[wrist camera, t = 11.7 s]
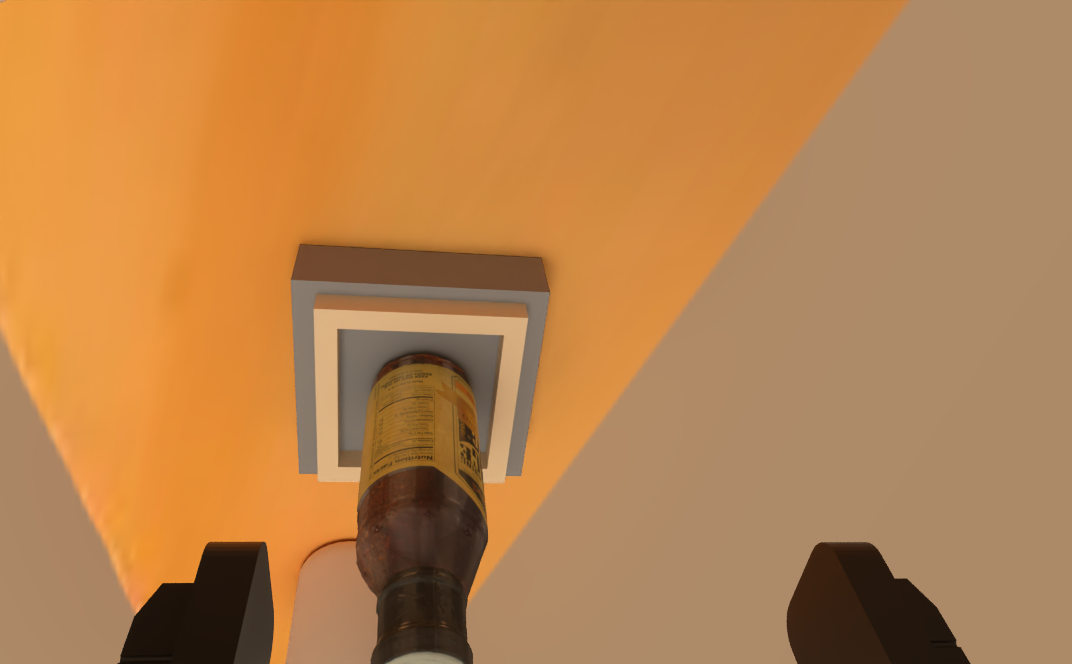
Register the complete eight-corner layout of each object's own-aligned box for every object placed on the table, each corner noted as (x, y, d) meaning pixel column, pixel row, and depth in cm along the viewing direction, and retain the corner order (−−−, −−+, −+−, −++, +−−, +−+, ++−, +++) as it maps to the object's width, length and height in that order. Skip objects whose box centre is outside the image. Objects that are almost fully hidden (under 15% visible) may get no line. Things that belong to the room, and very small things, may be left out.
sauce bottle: (468, 431, 51) (492, 740, 35) (366, 427, 50) (339, 745, 33) (480, 344, 47) (512, 643, 31) (369, 338, 46) (342, 644, 30)
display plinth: (541, 257, 49) (553, 306, 45) (515, 435, 57) (523, 492, 52) (299, 244, 47) (287, 294, 42) (306, 431, 55) (296, 490, 50)
